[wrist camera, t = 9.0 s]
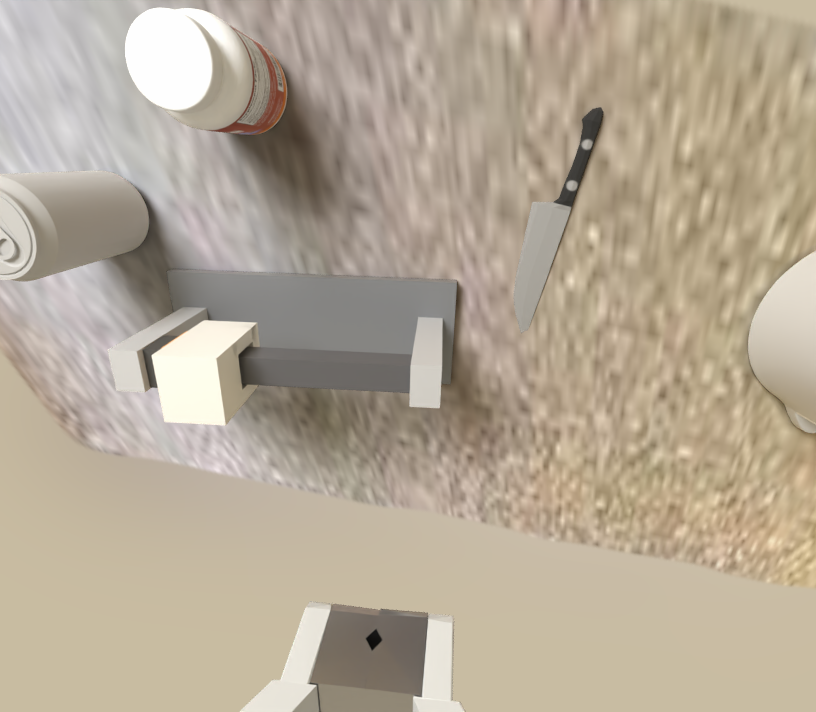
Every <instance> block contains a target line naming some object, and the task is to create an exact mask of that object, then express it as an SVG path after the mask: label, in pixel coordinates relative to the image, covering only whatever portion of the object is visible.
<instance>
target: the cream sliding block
mask: <svg viewBox="0 0 816 712" xmlns="http://www.w3.org/2000/svg"><path fill="white" fill-rule="evenodd" d="M246 347H260V344H259V334H258V324H257V323H253V322H231V321H209V320H204V321H202V322H201V323H199V324H198V325H196V326H195V327H193V328H192V329H190V330H189V331H187V332H186V333H184V334H183V335H181V336H180V337H178V338H177V339H175V340H174V341H172V342H171V343H169V344H168V345H166V346H165V347H163V348H162V349H160V350H159V351H157V352H156V353H154V354H153V355H152V360H153V366H154V371H155V376H156V381H157V386H158V391H159V396H160V401H161V406H162V411H163V417H164V422H175V423H193V424H210V425H226V424H227V423H228V422H229V421H230V420H231V418H232V417H233V416H234V415H235V413H236V412H237V411H238V410H239V409H240V407H241V406H242V405H243V404H244V403H245V401H246V400H247V399H248V398H249V396H250V395H251V394H252V393H253V392H254V390H255V389H256V388H257V387H258V386H259V385H247V384H242V383H241V374H240V366H239V358H238V355H239V354H240V353H241V352H242V351H243V350H244V349H245V348H246Z"/></svg>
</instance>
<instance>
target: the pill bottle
mask: <svg viewBox="0 0 816 712" xmlns="http://www.w3.org/2000/svg"><path fill="white" fill-rule="evenodd" d="M125 55H126V62H127V66H128V69H129V72H130V75H131V77H132V79H133V81H134V83H135V84H136V86H137V87H138V89H139V90H140V91H141V93H142V94H143V95H144V96H145V97H146V98H147V99H148V100H150V101H151V102H152V103H154V104H155V105H157V106H159V107H161V108H163V109H164V110H165V111H166V112H167V113H168V114H169V115H171V116H172V117H173V118H174V119H176V120H177V121H179V122H181V123H183V124H185V125H187V126H190V127H193V128H196V129H201V130H207V131H216V132H224V133H233V134H242V135H256V134H261V133H264V132H266V131H268V130H269V129H271V128H272V127H273V126H274V125H276V123H277V122H278V121H279V120H280V118H281V116H282V114H283V112H284V110H285V107H286V102H287V84H286V79H285V75H284V72H283V70H282V68H281V66H280V64H279V62H278V61H277V59H276V58H275V57H274V55H273V54H272V53H271V52H270V51H269V50H268V49H266V48H265V47H264V46H263V45H261V44H260V43H258V42H256V41H255V40H253V39H252V38H250V37H249V36H247V35H245V34H244V33H242V32H241V31H239V30H238V29H236V28H234V27H233V26H231V25H229V24H228V23H226V22H225V21H223V20H222V19H220V18H219V17H217V16H215V15H213V14H211V13H208V12H206V11H203V10H199V9H191V8H183V9H177V10H173V9H169V8H154V9H150V10H148V11H146V12H144V13H142V14H141V15H140V16H138V17H137V18H136V19H135V21H134V22H133V23H132V25H131V27H130V29H129V31H128V34H127V38H126V44H125Z"/></svg>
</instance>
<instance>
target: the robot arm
mask: <svg viewBox="0 0 816 712" xmlns="http://www.w3.org/2000/svg"><path fill="white" fill-rule="evenodd" d="M748 354H749V360H750V364H751V366H752V369H753V371H754V374H755V375H756V377H757V379H758V380H759V381H760V383H761V384H762V385H763V386H764V387H765V388H766V389H767V390H768V391H769V392H771V393H772V394H773V395H775V396H776V397H777V398H779V399H780V400H781V401H782V402H783V403H784V405H785V407H786V410H787V412H788V415H789V417H790V419H791V421H792V423H793V424H794V425H795V426H796V427H798V428H799V429H801V430H803V431H805V432H807V433H816V251H815V252H813V253H811V254H809V255H808V256H806V257H805V258H803V259H802V260H800V261H799V262H798V263H796V264H795V265H794V266H792V267H791V268H790V269H789V270H788V271H787V272H785V273H784V274H783V275H782V276H781V277H780V278H779V279H778V280H777V281H776V283H775V284H774V285H773V286H772V287H771V289H770V290H769V291H768V292H767V294H766V295H765V297H764V298H763V300H762V302H761V303H760V305H759V307H758V309H757V311H756V313H755V316H754V318H753V321H752V324H751V328H750V332H749V339H748ZM453 648H454V618H453V616H449V615H437V614H429V615H428V613H423V612H412V611H399V610H389V609H381V610H376V609H369V608H362V607H354V606H346V605H338V604H330V603H321V602H312V601H310V602H309V604H308V605H307V607H306V608H305V611H304V614H303V617H302V619H301V622H300V625H299V628H298V631H297V634H296V637H295V639H294V642H293V645H292V648H291V651H290V654H289V657H288V660H287V662H286V665H285V668H284V671H283V674H282V677H281V679H280V680H272V681H271V682H270V683H269V684H268V685H267V686H266V687H265V688H264V689H263V690H262V691H261V692H260V693H258V694H257V696H255V697H254V698H253V699H252V700H251V701H250V702H249V703H248V704H247V705H246V706H245V707H244V708H243V709H242V710H241V711H239V712H465V710H464V708H463V706H462V704H461V702H458V701H452V700H453V699H452V698H453V697H452V696H453Z"/></svg>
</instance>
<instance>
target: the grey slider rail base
mask: <svg viewBox="0 0 816 712" xmlns="http://www.w3.org/2000/svg"><path fill="white" fill-rule="evenodd" d="M166 272H167V278H168V284H169V290H170V296H171V302H172V307H173V313H172V314H170V315H169V316H167V317H165V318H163V319H161V320H160V321H158V322H156V323H154V324H153V325H151V326H149V327H147V328H145V329H144V330H142V331H140V332H138V333H137V334H135V335H133V336H131V337H130V338H128V339H126V340H124V341H122V342H121V343H119V344H117V345H115V346H114V347H112V348H110V349H108V350H107V351H108V355H109V360H110V364H111V368H112V372H113V377H114V381H115V385H116V390H117V391H127V392H146V391H148V390H149V389H150V388H152V387H154V388H158V386H157V381H156V376H155V371H154V366H153V360H152V355H153V354H154V353H156V352H157V351H159V350H160V349H162V348H163V347H165V346H166V345H168V344H169V343H171V342H172V341H174V340H175V339H177V338H178V337H180V336H181V335H183V334H184V333H186V332H187V331H189V330H190V329H192V328H193V327H195V326H196V325H198V324H199V323H201V322H202V321H204V320H209V321H231V322H253V323H257V324H258V334H259V344H260V347H246V348H245V349H244V350H243V351H242V352H241V353H240V354H239V355H238V358H239V366H240V374H241V383H242V384H247V385H266V386H285V387H304V388H323V389H342V390H361V391H380V392H400V393H410V403H409V407H424V408H440V396H441V384H451V370H452V354H453V338H454V322H455V306H456V290H457V280H443V279H418V278H392V277H366V276H341V275H315V274H289V273H264V272H238V271H212V270H186V269H171V270H169V271H166Z"/></svg>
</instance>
